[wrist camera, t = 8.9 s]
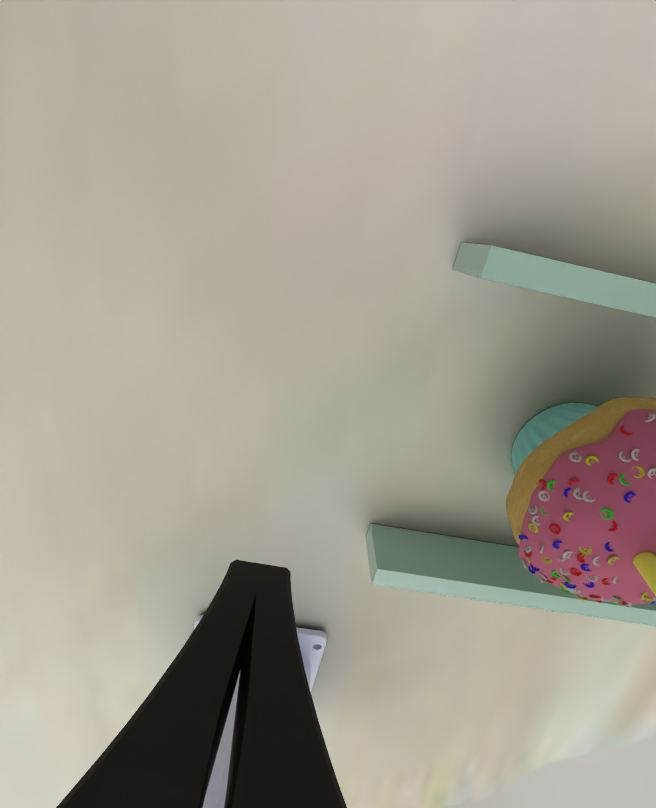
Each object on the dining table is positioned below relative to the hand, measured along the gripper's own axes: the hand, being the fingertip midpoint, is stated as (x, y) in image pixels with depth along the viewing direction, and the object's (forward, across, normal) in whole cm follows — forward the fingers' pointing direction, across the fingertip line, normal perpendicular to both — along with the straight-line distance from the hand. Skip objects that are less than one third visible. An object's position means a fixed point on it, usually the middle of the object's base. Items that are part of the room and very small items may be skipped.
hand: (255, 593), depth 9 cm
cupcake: (+10, -13, -2) cm, 16 cm away
